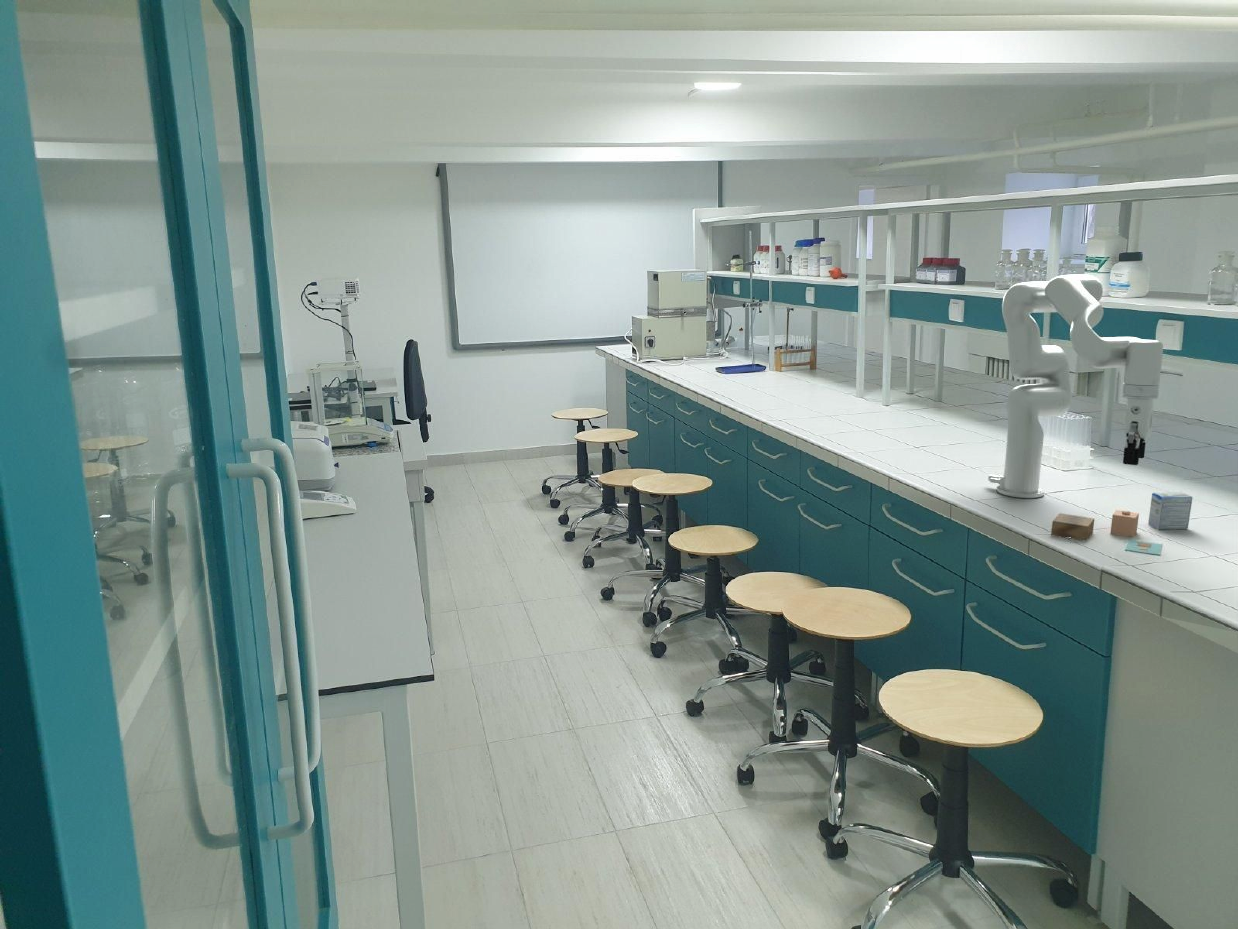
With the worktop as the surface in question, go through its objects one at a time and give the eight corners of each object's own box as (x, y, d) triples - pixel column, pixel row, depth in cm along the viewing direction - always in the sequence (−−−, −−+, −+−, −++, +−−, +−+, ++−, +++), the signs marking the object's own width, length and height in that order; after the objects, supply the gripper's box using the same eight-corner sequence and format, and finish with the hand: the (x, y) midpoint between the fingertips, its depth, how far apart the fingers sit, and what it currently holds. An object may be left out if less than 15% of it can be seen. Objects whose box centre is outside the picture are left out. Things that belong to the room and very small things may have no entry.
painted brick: (1110, 533, 228) (1112, 512, 226) (1114, 528, 232) (1116, 507, 230) (1132, 537, 225) (1135, 515, 223) (1136, 532, 229) (1139, 511, 227)
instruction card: (1125, 550, 215) (1125, 549, 215) (1128, 540, 222) (1128, 538, 222) (1159, 555, 211) (1159, 554, 211) (1161, 544, 219) (1162, 543, 219)
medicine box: (1177, 524, 235) (1182, 491, 233) (1188, 529, 230) (1193, 496, 228) (1147, 524, 235) (1151, 492, 233) (1157, 530, 230) (1162, 496, 228)
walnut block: (1050, 536, 227) (1052, 520, 226) (1058, 528, 233) (1059, 513, 232) (1086, 542, 222) (1088, 526, 221) (1092, 533, 228) (1094, 518, 228)
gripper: (1153, 396, 211) (1146, 469, 215) (1163, 388, 225) (1155, 456, 228) (1117, 394, 216) (1110, 465, 219) (1128, 386, 229) (1122, 453, 233)
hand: (1133, 460), depth 224 cm, fingers open, 9 cm apart
